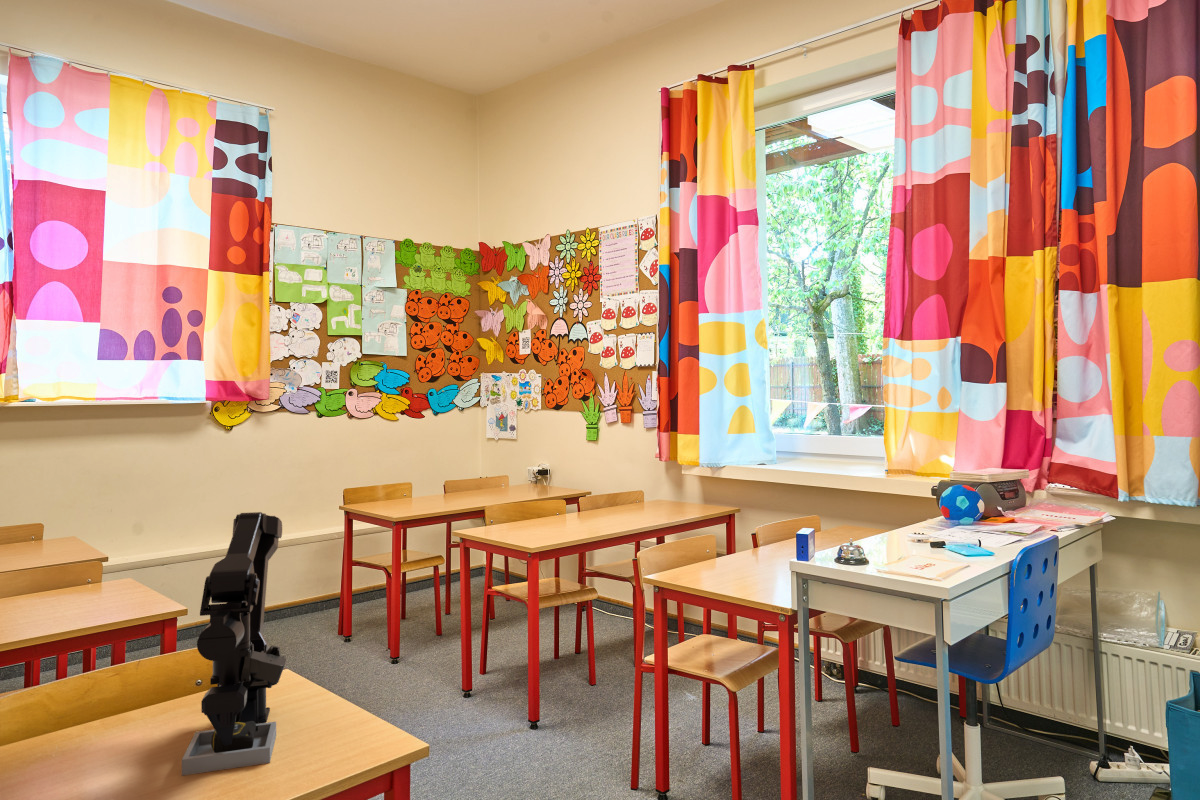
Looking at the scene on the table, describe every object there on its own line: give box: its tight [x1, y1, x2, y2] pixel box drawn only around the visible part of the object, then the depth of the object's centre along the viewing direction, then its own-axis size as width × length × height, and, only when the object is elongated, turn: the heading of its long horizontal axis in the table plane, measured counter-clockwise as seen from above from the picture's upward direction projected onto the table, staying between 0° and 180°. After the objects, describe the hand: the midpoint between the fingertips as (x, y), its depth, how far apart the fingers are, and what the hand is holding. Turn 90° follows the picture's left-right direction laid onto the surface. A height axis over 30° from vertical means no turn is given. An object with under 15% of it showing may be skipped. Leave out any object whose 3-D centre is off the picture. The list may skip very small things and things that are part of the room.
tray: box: [181, 721, 277, 776], centre depth 127 cm, size 11×13×2 cm
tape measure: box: [211, 721, 258, 753], centre depth 127 cm, size 7×7×4 cm
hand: (231, 733), depth 127 cm, fingers open, 9 cm apart
